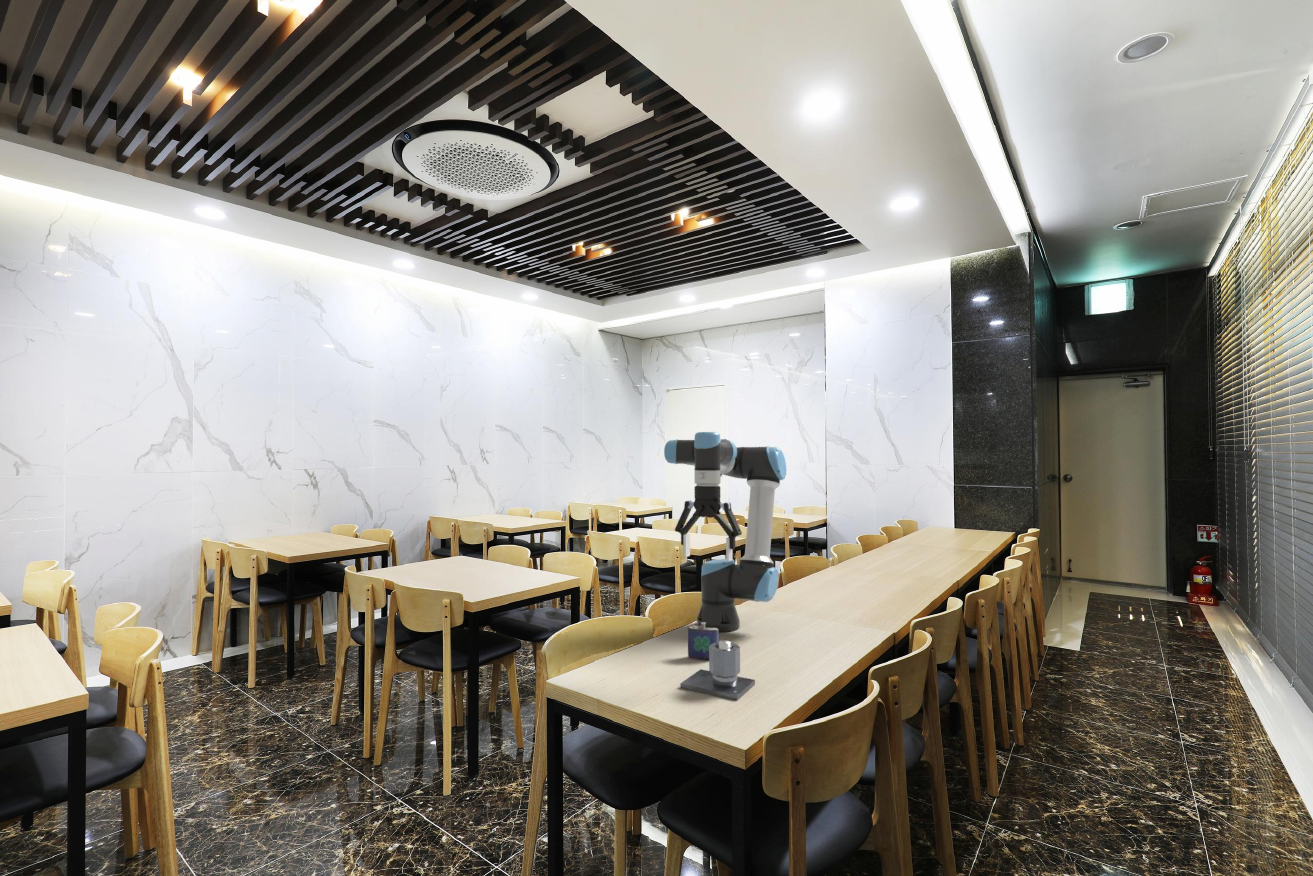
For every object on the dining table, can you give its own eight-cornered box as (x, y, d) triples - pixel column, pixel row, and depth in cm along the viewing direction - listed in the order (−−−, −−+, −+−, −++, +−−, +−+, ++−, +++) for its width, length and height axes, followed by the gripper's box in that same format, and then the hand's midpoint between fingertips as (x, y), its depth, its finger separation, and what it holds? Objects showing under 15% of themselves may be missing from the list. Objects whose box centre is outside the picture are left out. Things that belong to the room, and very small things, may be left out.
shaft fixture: (700, 673, 171) (700, 630, 171) (755, 684, 163) (754, 638, 163) (680, 688, 160) (680, 641, 161) (737, 700, 152) (737, 651, 153)
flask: (719, 657, 184) (718, 621, 184) (717, 661, 181) (717, 624, 181) (688, 655, 186) (688, 620, 186) (687, 659, 183) (686, 622, 183)
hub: (717, 664, 166) (717, 640, 166) (743, 669, 162) (743, 644, 162) (705, 673, 159) (705, 648, 159) (732, 678, 156) (732, 652, 156)
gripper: (663, 484, 182) (663, 556, 181) (742, 486, 169) (743, 564, 169) (675, 483, 188) (675, 553, 188) (752, 485, 176) (753, 560, 175)
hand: (707, 558), depth 178 cm, fingers open, 13 cm apart
